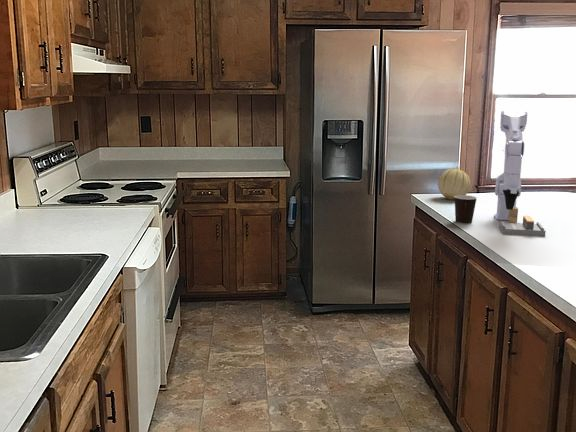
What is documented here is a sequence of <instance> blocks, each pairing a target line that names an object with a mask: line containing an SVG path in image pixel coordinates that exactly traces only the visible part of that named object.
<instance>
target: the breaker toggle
mask: <svg viewBox="0 0 576 432" xmlns="http://www.w3.org/2000/svg"><path fill="white" fill-rule="evenodd" d="M522 223H523V224H524V226H525V227H526V229H533V228H534V224H535V221H534V219H533V218H532V217H531V215H523V217H522Z"/></svg>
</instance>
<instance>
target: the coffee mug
mask: <svg viewBox="0 0 576 432" xmlns="http://www.w3.org/2000/svg"><path fill="white" fill-rule="evenodd" d="M477 198H478V197H476V196H473V195H467V194H466V195H458V196H454V199H453V200H454V213H455V214H454V215H455V223H459V224H472V223H473V219H474V214H475V213H474V212H475V210H476V209H475V208H476V203H477Z"/></svg>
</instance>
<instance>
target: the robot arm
mask: <svg viewBox="0 0 576 432" xmlns="http://www.w3.org/2000/svg"><path fill="white" fill-rule="evenodd" d="M527 123H528V111H527V110H526V109H525V110H517V109H516V110H512V109H510V110H509V109H508V110H507V109H502V110H501V113H500V127H499V129H500V131H501V132H503V133H504V135H505V145H504V162H503V164H504V165H503V173H501V174H499V175H497V177H495V178H496V180H495V188H494V194H495V196H497V203H496V204H497V207H496V213H494V214H493V216H494V218H495V220H496V221H508V214H509V209H510V210H512V209H513V207H517V199H518V198H520V196H521V193H522V179H521V173H522V162H523V161H522V159H523V157H524V154H525V141H524V140H523V133H524V132H525V129H526V127H527V126H526V125H527Z"/></svg>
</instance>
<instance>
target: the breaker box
mask: <svg viewBox="0 0 576 432" xmlns="http://www.w3.org/2000/svg"><path fill="white" fill-rule="evenodd" d="M498 228H499V230H500V233H501V234H502V235H511V236H512V235H514V236H517V235H518V236H530V237H531V236H533V237H534V236H535V237H546V231H547V230H545V228H544V227H543V226H542V224H541V223H540V222H539V221H538V222H536V223H534V228H533V229H526V227H525V226H524V224H523V222H521V223H520V222H517V223H508V222H505V221H504V220H499V223H498Z"/></svg>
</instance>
